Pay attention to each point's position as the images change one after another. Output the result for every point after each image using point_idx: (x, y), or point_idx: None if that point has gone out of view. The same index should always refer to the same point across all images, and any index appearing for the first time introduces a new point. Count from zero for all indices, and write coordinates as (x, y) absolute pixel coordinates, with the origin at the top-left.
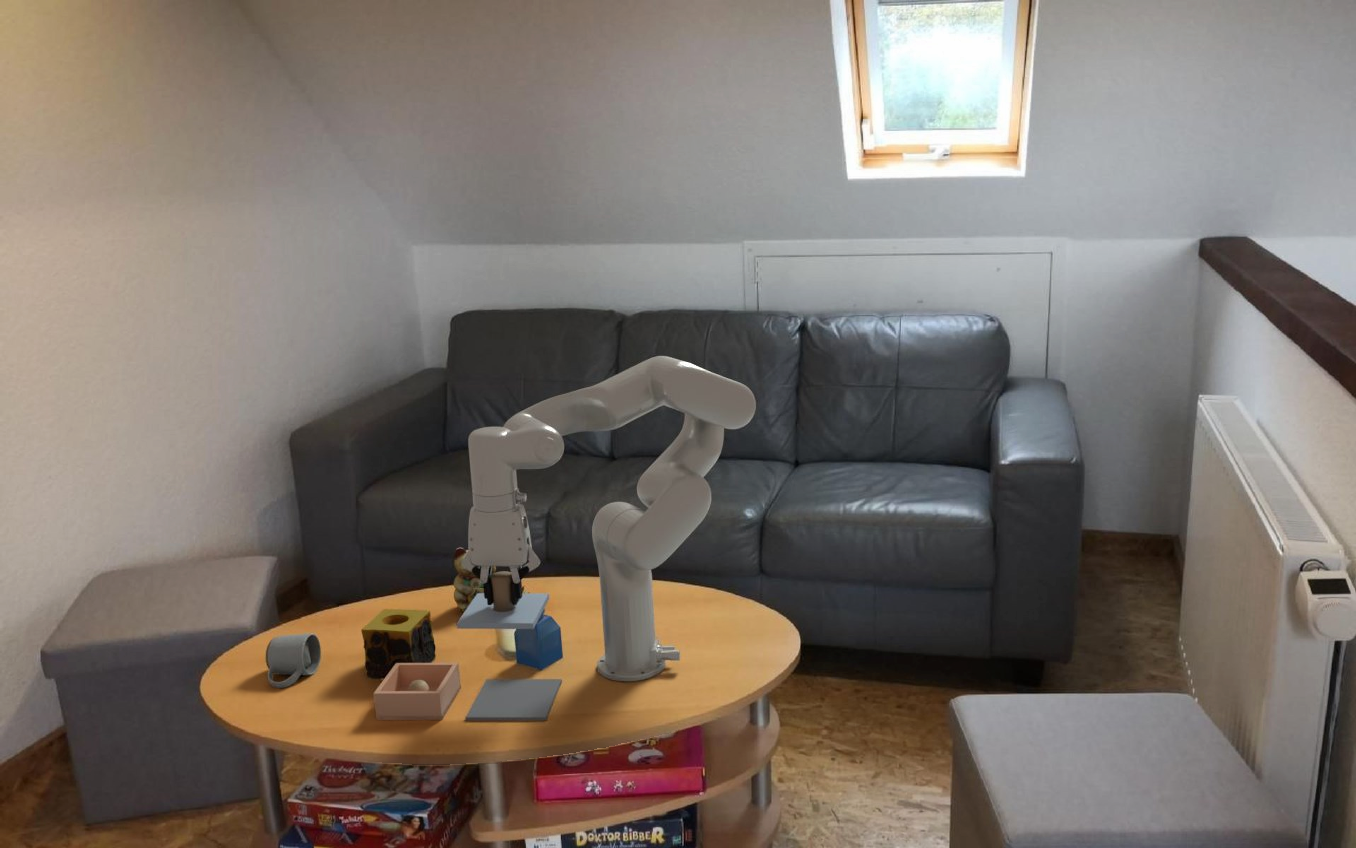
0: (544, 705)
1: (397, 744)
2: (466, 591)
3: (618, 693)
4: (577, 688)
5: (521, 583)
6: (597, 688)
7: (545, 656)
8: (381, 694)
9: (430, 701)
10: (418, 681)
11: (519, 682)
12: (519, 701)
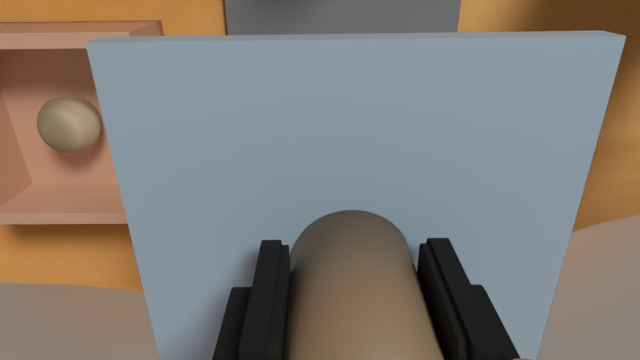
0: None
1: (139, 274)
2: None
3: (626, 49)
4: (509, 18)
5: (513, 348)
6: (568, 18)
7: None
8: (8, 223)
9: None
10: (60, 137)
11: (333, 3)
12: None
